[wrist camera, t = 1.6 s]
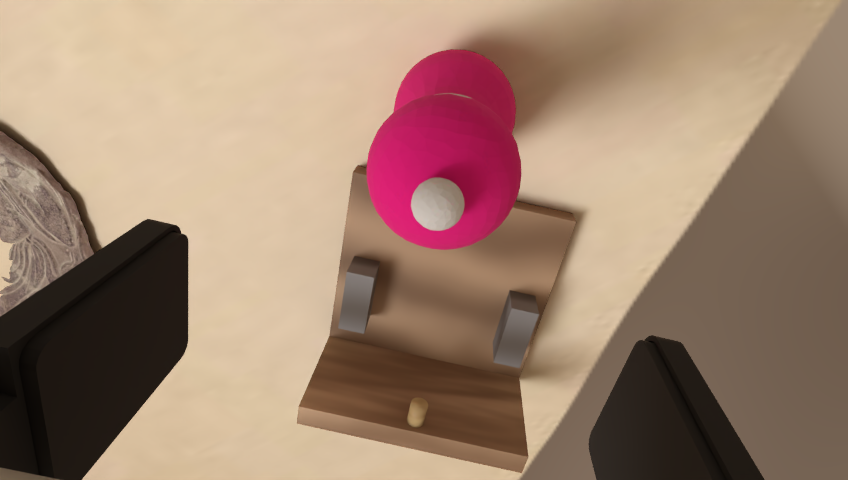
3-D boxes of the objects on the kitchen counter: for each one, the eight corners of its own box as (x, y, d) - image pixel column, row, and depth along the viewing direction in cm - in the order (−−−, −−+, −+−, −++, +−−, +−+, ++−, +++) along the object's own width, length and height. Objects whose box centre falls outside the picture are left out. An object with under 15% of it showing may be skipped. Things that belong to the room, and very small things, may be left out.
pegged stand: (357, 165, 36) (321, 216, 28) (572, 213, 37) (602, 278, 28) (332, 340, 43) (296, 423, 35) (512, 380, 44) (521, 473, 35)
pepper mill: (400, 147, 36) (323, 297, 18) (407, 38, 33) (323, 85, 15) (502, 158, 35) (529, 322, 17) (519, 49, 32) (575, 111, 14)
